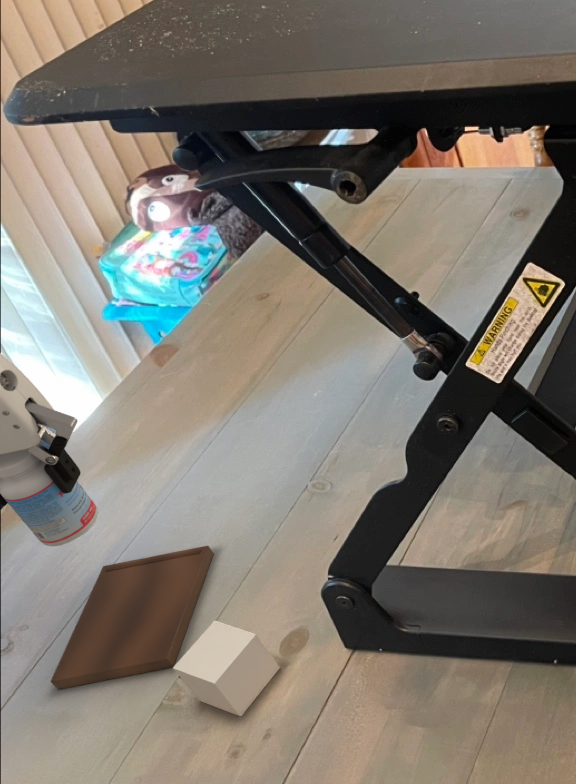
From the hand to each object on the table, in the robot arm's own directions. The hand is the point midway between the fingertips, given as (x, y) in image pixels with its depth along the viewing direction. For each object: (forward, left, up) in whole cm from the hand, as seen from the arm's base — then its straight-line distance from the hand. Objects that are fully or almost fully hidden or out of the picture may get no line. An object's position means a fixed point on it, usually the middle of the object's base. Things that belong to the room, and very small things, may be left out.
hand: (40, 488), depth 110 cm
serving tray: (+1, -1, -21) cm, 21 cm away
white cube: (+16, -13, -21) cm, 29 cm away
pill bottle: (0, 0, -6) cm, 6 cm away
